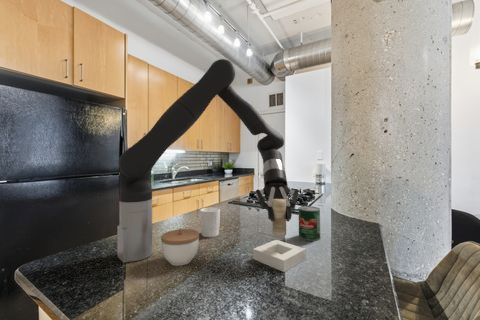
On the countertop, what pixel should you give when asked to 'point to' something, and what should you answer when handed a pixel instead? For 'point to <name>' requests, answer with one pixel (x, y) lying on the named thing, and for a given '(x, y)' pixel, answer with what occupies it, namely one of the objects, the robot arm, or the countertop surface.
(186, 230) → the lidded jar
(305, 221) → the canned tomato
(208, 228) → the white cup
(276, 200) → the birch peg
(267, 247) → the beige socket block
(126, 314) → the countertop surface
